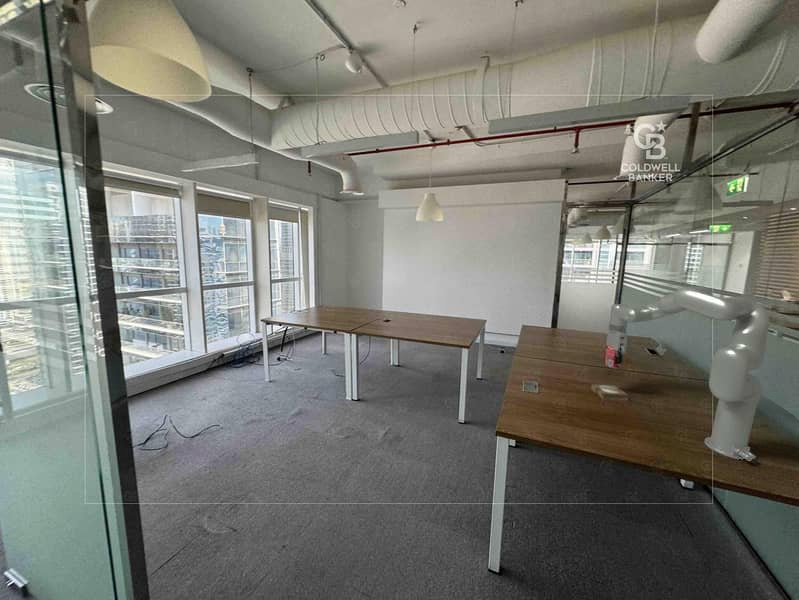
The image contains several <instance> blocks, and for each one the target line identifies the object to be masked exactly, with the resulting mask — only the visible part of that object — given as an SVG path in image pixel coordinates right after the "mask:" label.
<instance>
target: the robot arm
mask: <svg viewBox="0 0 799 600" xmlns="http://www.w3.org/2000/svg"><path fill="white" fill-rule="evenodd" d="M686 311H689V312H690V313H691V312H692V313H695V314H697V315H700V316H702V317H706V318H708V319H710V320H715V321H720V322H727V321H735V325H734V327H733V329H732V331H731V340H730V343H729V346H725V347H722V348H720V349H718V350H717V351H716V352H715V353H714V355H713V356H712V360H711V365H710V373H709V379H708V386H709V387H708V388H709V391H710V393H712V395H713V396H714V397H715V398H716V399H718V401H717V402H718V403H717V406H716V411H715V416H714V421H713V427H712V430H711V436H709V437H706V438H704V444H705V445H706V446H707V447H708V448H709V449H711V450H712V451H714V452H716V453H718V454H720V455H723V456H725V457H727V458H731V459H734V460H739V459H741V460H740V461H744V460H743V459H746V460H745V461H747V462H751V461H752V460H755V459H756V457H757V456H756V454H755V455H754V454H753V453H752V452H751V451H750V450H751V447H750V446H748V445H749V442H750V436H751V431H752V428H753V423H754V418H755V414H756V410H757V407H758V404H759V403H760V400H761V397H762V396H763V395H762V394H763V392H764V391H763V390H764V386H763V384H762V382H761V381H762V380H761V381H760V379H759V378H758V377H757V376H756V375H754V374H752V373H749V372H751V371H754V370H758V369H759V368H761V367H762V366H763V364H764V361H765V355H766V347H767V339H768V335H769V328H770V315H769V313H768V311H767V310H766V308H765V306H763V305H762V304H761V303H759V302H757V301H756V300H754V299H751V298H748V297H741V296H728V297H720V296H715V295H714V293H713V292H712V290H711V289H709V288H707V287H705V286H701V285H699V286H698V285H697V286H696V285H694V286H684V287H680V288H679V289H677V290H675V292H673V293H669V294H666V295H663V296H661V297H660V298H659V299H658V301H656V302H653V303H650V304H646V305H640V306H639V305H638V306H629V305H627V304H620V303H614V304H612V305H611V308H610V315H609V316H610V317H609V322H608V332H607V335H606V341H605V342H604V343H605V347H606V349H605V351H606V350H607V346H608V345H609V344H610V345H612V346H613V348H614V350H615V351H616V356H615V362H614V363H615V364H621V365H622V361H623V357H624V356H625V354H626V353H627V348H628V346H627V345H628V333H627V331H628V329H627V328H628V323H640V322H641V323H643V322H649V321H652V320H657V319H660V318H664V317H667V316H671V315H675V314H679V313H682V312H686ZM618 349H621V350H618ZM618 352H620V353H619V354H618Z"/></svg>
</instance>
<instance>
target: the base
mask: <svg viewBox="0 0 799 600" xmlns="http://www.w3.org/2000/svg"><path fill="white" fill-rule="evenodd" d="M590 386H591V387H590V390H591V391H593V393H595V394H596V393H597V394H598V395H599V396H598V395H597V394H596V395H597V396H598V397H599V398H600V399H602V400H605V401H623V402H628V400H629V397H630V396H629V394H627V393H626V392H625V391H623V390H622V389H620V388H619V387H618V386H616V385H615V384H601V383H600V384H599V383H598V384H597V383H592V384H591V385H590Z"/></svg>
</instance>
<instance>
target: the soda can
mask: <svg viewBox="0 0 799 600" xmlns="http://www.w3.org/2000/svg"><path fill="white" fill-rule="evenodd" d="M618 350H621V349H618ZM619 353H620V352H618V354H619ZM615 356H616V351H615V350H614V348H613V346H612V345H610V344H609V345H608V346H607V350H606V349H605V359H604V365H605V366H606V367H608V368H611V369H619V368H621V367H622V364H615V363H614V362H615Z"/></svg>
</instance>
